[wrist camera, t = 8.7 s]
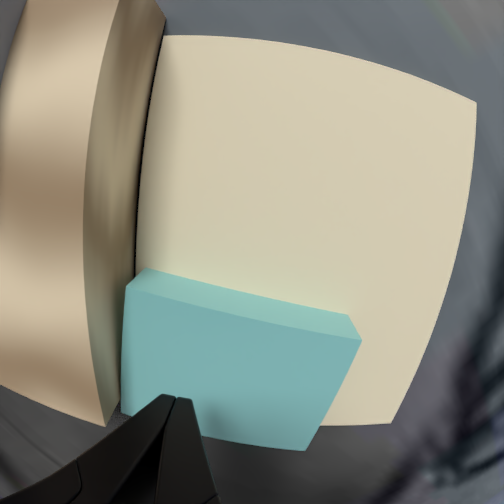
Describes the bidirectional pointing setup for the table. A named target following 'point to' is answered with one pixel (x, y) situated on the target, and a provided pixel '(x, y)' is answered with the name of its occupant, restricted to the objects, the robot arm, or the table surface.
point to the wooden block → (71, 196)
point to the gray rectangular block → (8, 27)
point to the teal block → (233, 358)
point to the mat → (310, 193)
